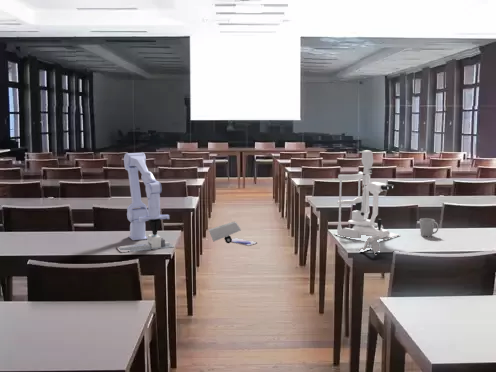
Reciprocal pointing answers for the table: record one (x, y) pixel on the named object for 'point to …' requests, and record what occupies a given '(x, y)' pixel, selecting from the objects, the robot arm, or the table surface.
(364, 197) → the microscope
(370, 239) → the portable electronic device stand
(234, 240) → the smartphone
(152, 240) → the block
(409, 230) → the table surface
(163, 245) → the rail
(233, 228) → the grey tilted panel
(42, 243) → the table surface
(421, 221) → the cup
